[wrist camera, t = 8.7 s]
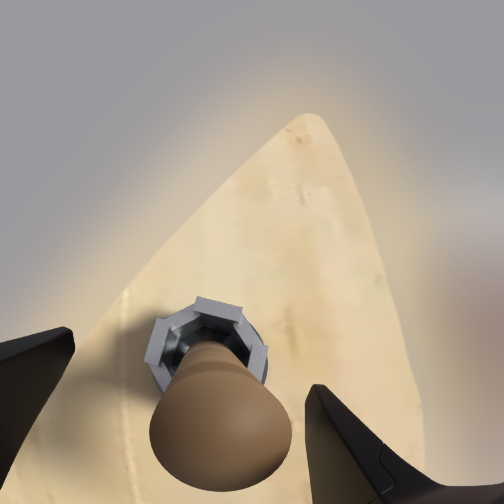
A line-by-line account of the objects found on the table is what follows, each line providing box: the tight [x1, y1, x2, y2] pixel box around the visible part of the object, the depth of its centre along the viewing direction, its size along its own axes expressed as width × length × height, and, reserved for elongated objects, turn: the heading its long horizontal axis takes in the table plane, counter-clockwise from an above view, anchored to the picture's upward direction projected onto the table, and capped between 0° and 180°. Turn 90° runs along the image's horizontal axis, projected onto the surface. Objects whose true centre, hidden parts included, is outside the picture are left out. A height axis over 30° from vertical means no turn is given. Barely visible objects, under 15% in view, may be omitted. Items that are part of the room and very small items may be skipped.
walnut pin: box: [149, 339, 292, 492], centre depth 12 cm, size 4×4×14 cm
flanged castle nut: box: [144, 296, 269, 394], centre depth 18 cm, size 9×9×5 cm
